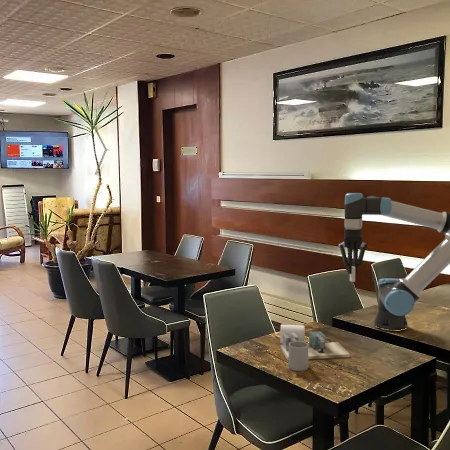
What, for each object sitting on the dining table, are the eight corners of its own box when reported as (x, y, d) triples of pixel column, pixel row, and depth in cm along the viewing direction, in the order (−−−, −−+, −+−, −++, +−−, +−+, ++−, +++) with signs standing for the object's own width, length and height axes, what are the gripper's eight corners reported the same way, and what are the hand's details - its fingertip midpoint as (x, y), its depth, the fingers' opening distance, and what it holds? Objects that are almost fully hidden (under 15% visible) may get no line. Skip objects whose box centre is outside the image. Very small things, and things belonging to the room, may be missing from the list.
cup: (295, 372, 177) (295, 349, 176) (281, 363, 186) (281, 340, 185) (312, 369, 180) (312, 346, 179) (297, 360, 189) (297, 337, 188)
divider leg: (320, 343, 203) (320, 331, 203) (328, 351, 193) (328, 339, 193) (309, 343, 203) (309, 331, 202) (316, 352, 193) (316, 339, 192)
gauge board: (337, 344, 205) (338, 329, 205) (349, 357, 191) (350, 340, 191) (279, 347, 202) (279, 332, 202) (287, 360, 189) (287, 344, 188)
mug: (304, 347, 203) (304, 328, 202) (280, 346, 205) (280, 327, 204) (305, 338, 214) (305, 320, 214) (282, 336, 216) (282, 319, 216)
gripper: (364, 227, 218) (363, 278, 220) (335, 227, 216) (335, 279, 219) (370, 228, 210) (369, 282, 213) (341, 229, 209) (341, 283, 211)
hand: (352, 281), depth 216 cm, fingers closed
